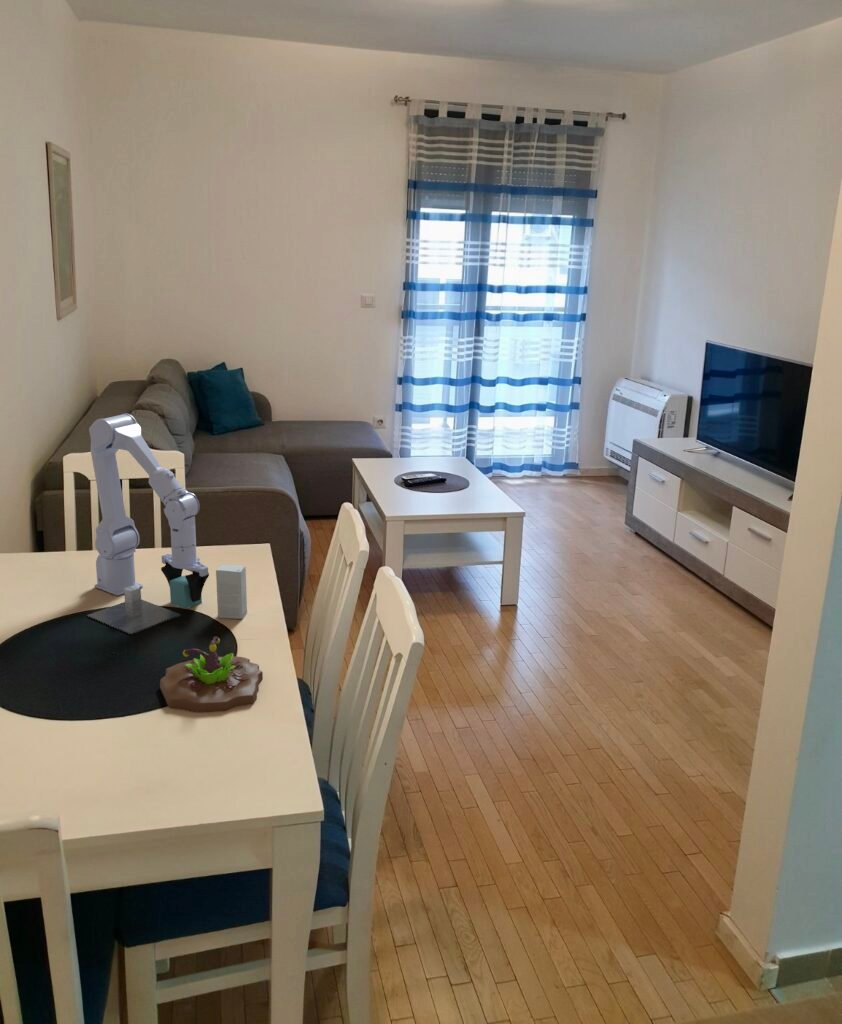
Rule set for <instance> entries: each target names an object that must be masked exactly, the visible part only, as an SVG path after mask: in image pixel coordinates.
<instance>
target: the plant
mask: <svg viewBox="0 0 842 1024" xmlns="http://www.w3.org/2000/svg"><path fill="white" fill-rule="evenodd" d="M220 642H221V639H220V638H219V637H218V636H213V637H212V640H210V643H209V647H208V648H209V653H207V652H205V651H203V650H201V649H199V648H190V649H189V648H187V649H186V648H185V649H184V650H183V652H182V655H183V657H185V658H187V657H189V656H190V654H191V653H192V652H194V653H198V655H199V658H195V657H193V659H192V660H191V659H189V660H187V661H184V662H179V663H176V664H173V665H172V666H170V667H167V668H165V676H163V677H162V678H160V681H159V687H160V691H161V693H162V695H163V698H164V699H165V703H166V705H167V707H168V708H169V709H175V710H181V711H183V710H184V711H188V712H192V713H213V712H216V713H217V712H226V711H228V710H231V709H234V708H237V707H243V706H249V705H254V704H255V703H256V701H257V700H258V693H259V691H260V688H259V687H260V686H259V685H260V684H259V683H260V682H261V681H263V679H264V676H263V671H262V670H260V665H259V664H258V663H253V662H251V661H250V660H251V659H249V658H247V657H244V656H243V657H242V656H234V653H232V652H231V653H228V654H226V655H224V656H219V655H218V653H217V648H218V647H217V645H218V644H220Z"/></svg>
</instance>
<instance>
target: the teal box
mask: <svg viewBox="0 0 842 1024" xmlns="http://www.w3.org/2000/svg"><path fill="white" fill-rule="evenodd" d="M187 575H188V574H185V575H182V576H181V577H178V578H176V579H173V580H170V586H169V596H170V597H169V598H170V605H173V606H177V607H178V606H179V608H180V609H184V610H186V609H188V608H192V607H194V606H197V605H199V603H200V604H202V603H203V602H202V601H203V600H202V598H203V597H202V594H201V598H200V600H198V601H196V602H192V600H191V595H190V588H189V584H188V581H187V579H186V578H185V576H187Z"/></svg>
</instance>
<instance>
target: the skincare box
mask: <svg viewBox="0 0 842 1024" xmlns="http://www.w3.org/2000/svg"><path fill="white" fill-rule="evenodd" d="M246 568H247V567H246V566H245V565H231V564H221V565H220V566H219V567H218V568H217V569H216V570H215V577H216V581H215V582H216V597H217V598H216V601H217V603H216V604H217V618H219V619H234V620H235V619H236V620H243V619H244V617H245V616H246V615H247V613H248V597H247V573H246V571H247V570H246Z"/></svg>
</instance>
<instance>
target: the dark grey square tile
mask: <svg viewBox="0 0 842 1024" xmlns="http://www.w3.org/2000/svg"><path fill="white" fill-rule="evenodd" d="M141 588H142V587H141ZM141 588H139V587H136V586H130V587H127V588H124V601H123V602H121V603H117V604H114V605H112V606H109V607H106V608H103V609H100V610H98V611H95V612H92V613H89V614H87V615H86V617H87V616H88V617H87V618H89V617H90V619H93V620H94V619H95V620H94V621H96V620H97V622H99V621H100V622H99V623H101V622H102V624H104V623H105V624H104V625H106V624H107V625H106V626H108V625H109V627H111V628H113V627H114V628H113V629H115V628H116V630H118V629H119V630H118V631H120V630H121V631H120V632H122V631H123V633H125V632H126V633H125V634H127V633H128V635H130V634H132V635H134V634H133V633H135V634H137V633H140V632H142V630H143V631H145V630H148V629H150V628H153V627H156V626H157V624H158V625H160V624H159V623H161V624H163V623H165V622H164V621H166V622H168V621H171V620H173V619H172V618H174V619H176V618H179V617H181V614H180V613H179V612H175V611H173V610H170V609H168V608H166V607H163V606H159V605H157V604H154V603H152V602H150V601H148V600H144V599H142V592H141V591H142V590H141ZM178 616H179V617H178ZM175 617H176V618H175ZM170 619H171V620H170ZM167 620H168V621H167ZM162 622H163V623H162ZM155 625H156V626H155ZM152 626H153V627H152ZM144 629H145V630H144Z"/></svg>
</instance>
